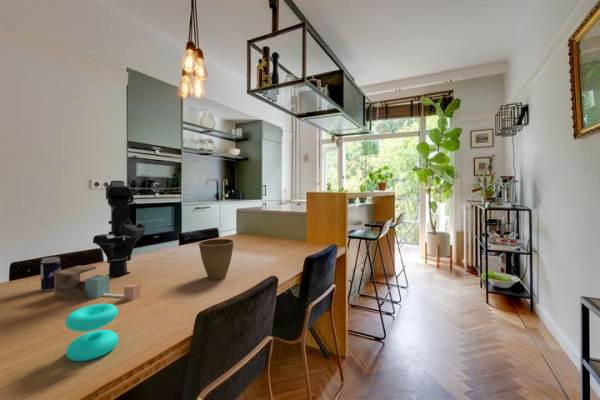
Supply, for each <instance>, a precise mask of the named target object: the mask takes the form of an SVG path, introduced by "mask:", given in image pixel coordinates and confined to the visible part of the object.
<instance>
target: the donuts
mask: <svg viewBox="0 0 600 400" xmlns="http://www.w3.org/2000/svg"><path fill="white" fill-rule="evenodd" d="M118 313H119V309H118V307H117V306H116V305H114V304H111V303H95V304H90V305H87V306H82V307H81V308H78V309H76V310H74V311H73V312H71V313H70V314H69V315H68V316H67V317H66V319H65V327H66V328H68V329H69V330H71V331H73V332H86V333H84V334H81V335H80V336H78V337H76V338H75V339H73V340H72V341H71V342H70V343H69V345H68V346H67V347H66V351H65V355H66V357H67V358H68V359H69V360H70V361H74V362H87V361H90V360H94V359H97V358H100V357H102V356H104V355H106V354H108V353H110V352H111V351H113V349H114V348H115V347H116V346H117V344H118V343H119V335H118V334H117V333H116V332H115V331H113V330H109V329H100V328H103V327H105V326H108V325H109V324H110V323H112V322H113V320H115V319H116V317H117V316H118ZM97 329H98V330H97Z"/></svg>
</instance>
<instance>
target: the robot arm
mask: <svg viewBox="0 0 600 400" xmlns="http://www.w3.org/2000/svg"><path fill="white" fill-rule="evenodd" d="M134 199H135V198H134V191H132V189H131V188H130V187H129V186H128V185H125V181H123V180H110V184H109V185H108V186H106V187H105V200H107V205H108V206H109V207H110V215H111V216H110V220H109V221H108V224H109V225H110V226H111V227H110V230H111V231H108V233H107V234H106V233H104V234H103V233H102V234H96V235H94V236H93V238H92V241H93V242H92V243H93V244H96V246H99V248H100V249H101V250H102V252H103V253H104V255H105V256H106V263H107V265H108V264H109V266H108V274H106V276H109V277H113V278H114V277H115V278H120V277H123V276H125V275H128V274H130V272H131V271H128V263H127V262H130V261H131V260H132V253H133V252H134V251H133V250H134V248H135V245H136V243H137V242H138V240H140V239H141V238H142V237H143V236H144V233H145V231H146V230H145V229H146V228H145V224H144V223H138V224H133V221H132V219H131V220H130V219H129V218H130V216H131V213H132V212H131V209H130V207H129V205H128V204H130V205H131V204H133V202H134V201H135V200H134Z"/></svg>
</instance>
